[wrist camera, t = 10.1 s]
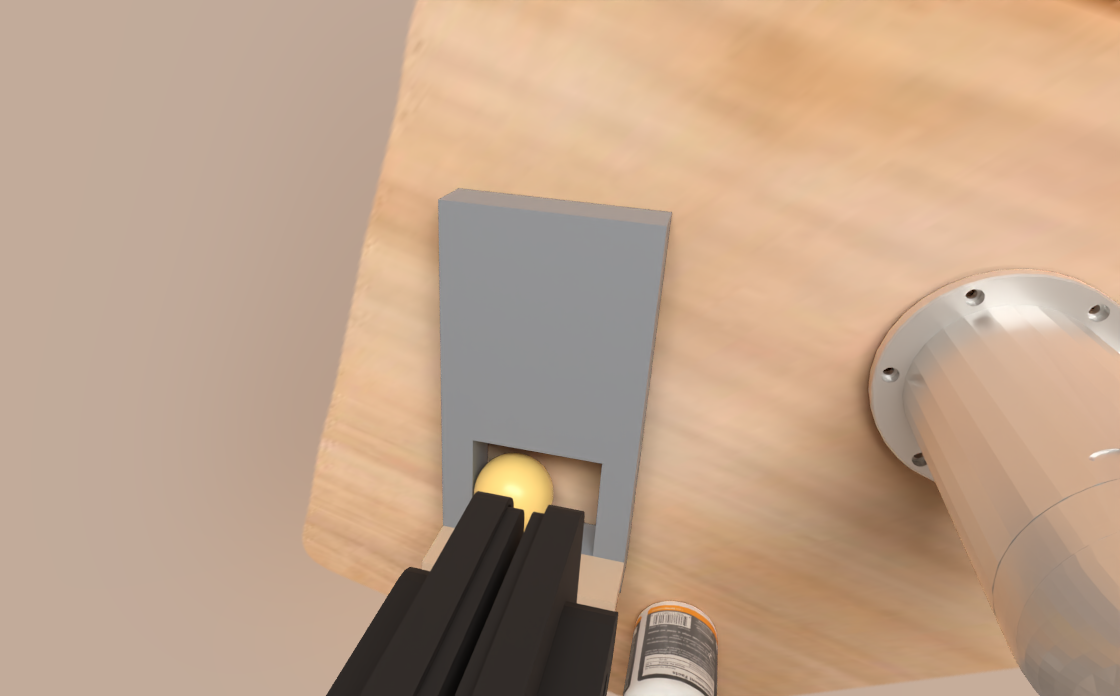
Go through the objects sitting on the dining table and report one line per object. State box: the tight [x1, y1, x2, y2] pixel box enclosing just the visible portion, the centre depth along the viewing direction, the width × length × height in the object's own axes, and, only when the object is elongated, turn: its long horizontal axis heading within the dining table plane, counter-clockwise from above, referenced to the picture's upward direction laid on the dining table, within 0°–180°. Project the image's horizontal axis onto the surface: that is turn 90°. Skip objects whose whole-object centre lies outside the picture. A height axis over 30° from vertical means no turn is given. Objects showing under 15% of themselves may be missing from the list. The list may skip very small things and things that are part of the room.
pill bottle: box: [623, 601, 718, 696], centre depth 44 cm, size 6×6×10 cm
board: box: [422, 188, 672, 611], centre depth 40 cm, size 12×24×6 cm, turn 177°
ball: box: [474, 453, 553, 531], centre depth 44 cm, size 5×5×5 cm
